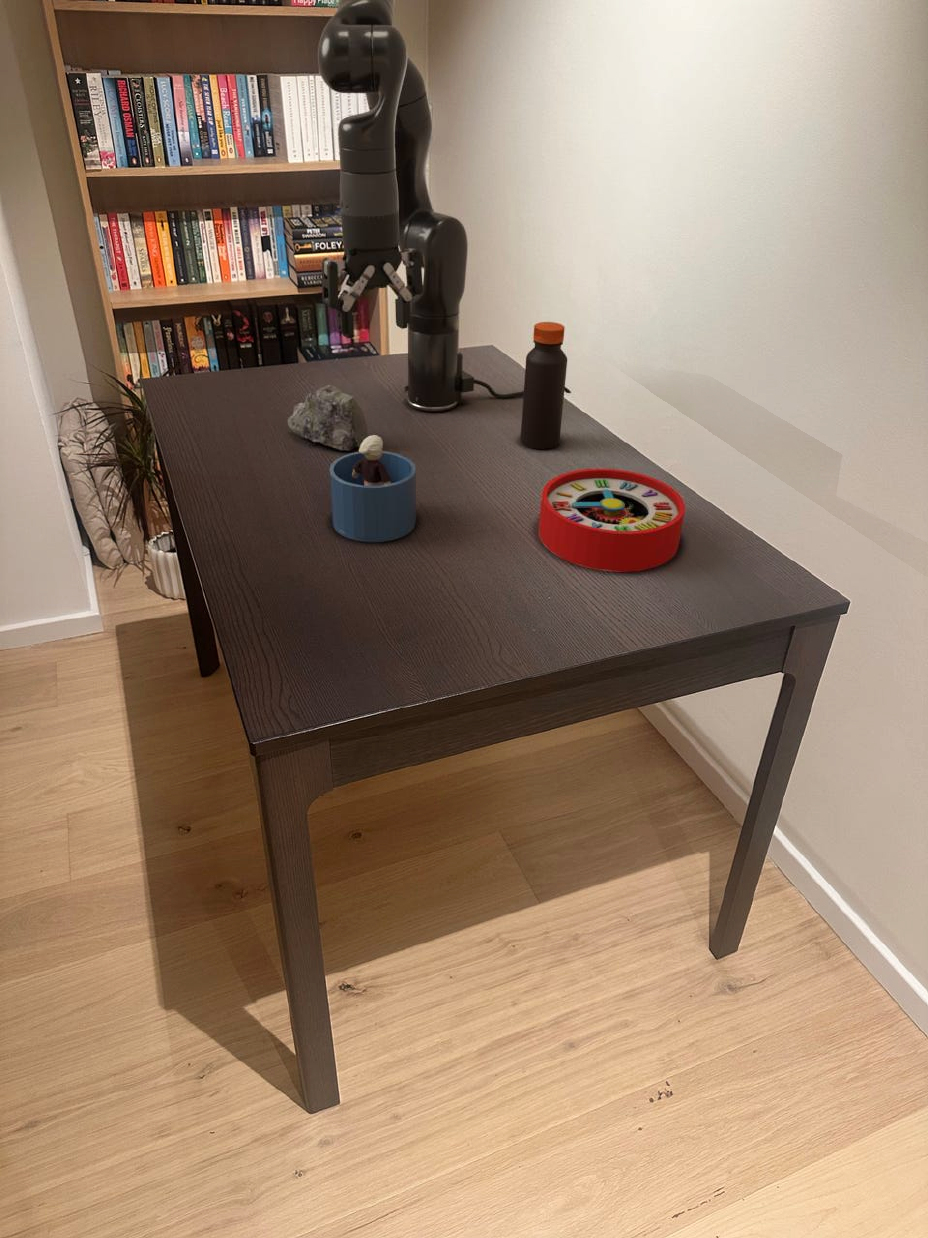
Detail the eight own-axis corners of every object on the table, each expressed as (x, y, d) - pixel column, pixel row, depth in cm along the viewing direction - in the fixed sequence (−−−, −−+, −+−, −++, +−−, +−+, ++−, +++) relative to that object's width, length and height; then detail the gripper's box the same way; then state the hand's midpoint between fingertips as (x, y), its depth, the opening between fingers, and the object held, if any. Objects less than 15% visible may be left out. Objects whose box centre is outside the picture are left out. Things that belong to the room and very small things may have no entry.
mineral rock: (285, 432, 158) (280, 375, 152) (341, 421, 162) (338, 365, 157) (316, 460, 149) (312, 401, 143) (374, 447, 154) (373, 390, 148)
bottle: (514, 445, 156) (522, 328, 145) (527, 431, 161) (536, 317, 150) (552, 453, 154) (563, 334, 143) (564, 438, 159) (575, 323, 148)
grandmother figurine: (403, 519, 132) (403, 437, 124) (389, 530, 129) (387, 446, 122) (359, 506, 135) (356, 425, 127) (344, 516, 132) (340, 434, 125)
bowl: (392, 496, 139) (391, 444, 134) (430, 530, 130) (431, 476, 126) (319, 513, 134) (316, 460, 129) (354, 550, 125) (351, 494, 120)
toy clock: (703, 533, 120) (553, 534, 118) (695, 571, 123) (549, 572, 122) (664, 468, 136) (532, 468, 135) (658, 503, 140) (529, 503, 138)
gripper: (332, 218, 112) (341, 348, 122) (431, 207, 119) (432, 331, 128) (307, 207, 118) (317, 332, 127) (403, 196, 124) (406, 316, 133)
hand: (375, 331), depth 128 cm, fingers open, 8 cm apart
